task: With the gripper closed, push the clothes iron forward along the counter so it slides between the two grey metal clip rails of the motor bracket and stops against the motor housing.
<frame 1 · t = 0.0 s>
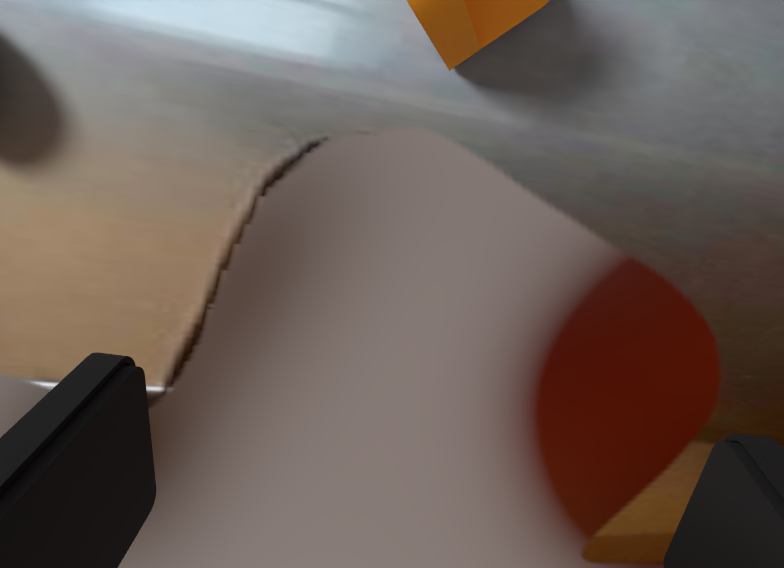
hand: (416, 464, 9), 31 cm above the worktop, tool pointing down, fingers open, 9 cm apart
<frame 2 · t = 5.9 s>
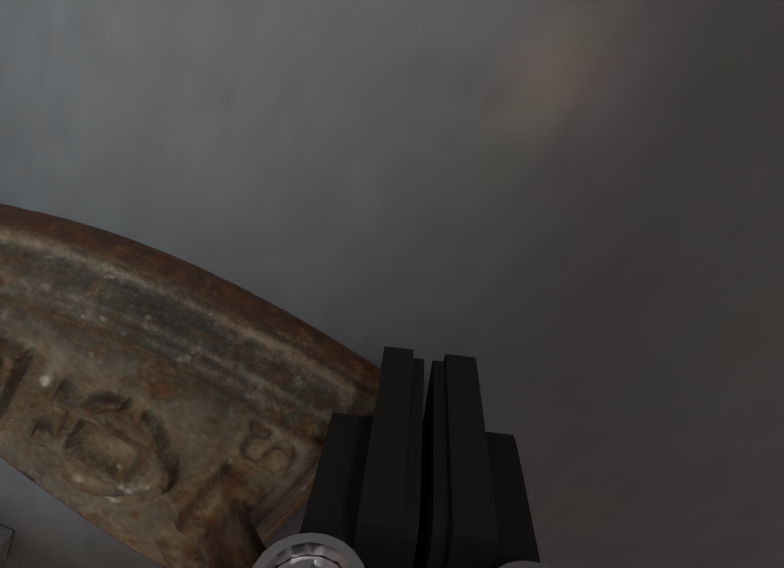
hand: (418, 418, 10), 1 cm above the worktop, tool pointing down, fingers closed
clothes iron: (113, 348, 12), on the worktop, touching gripper
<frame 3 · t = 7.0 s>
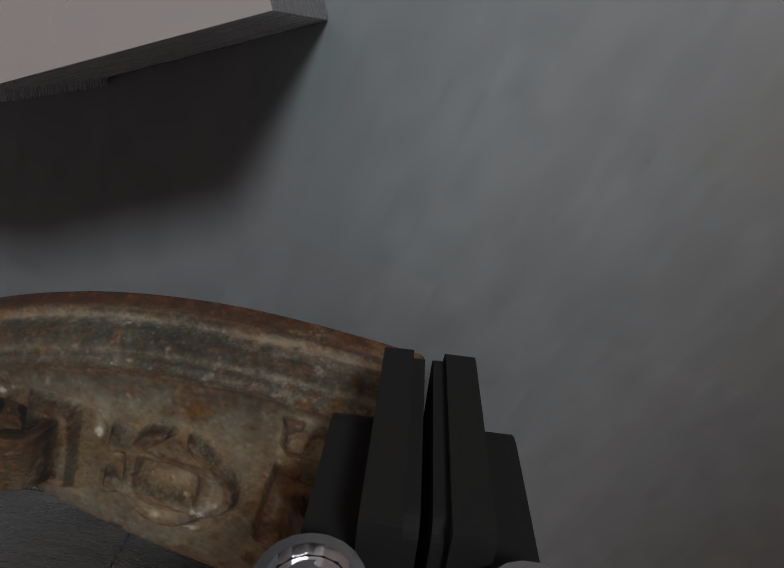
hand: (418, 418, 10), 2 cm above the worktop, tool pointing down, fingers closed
clothes iron: (160, 392, 13), on the worktop, touching gripper
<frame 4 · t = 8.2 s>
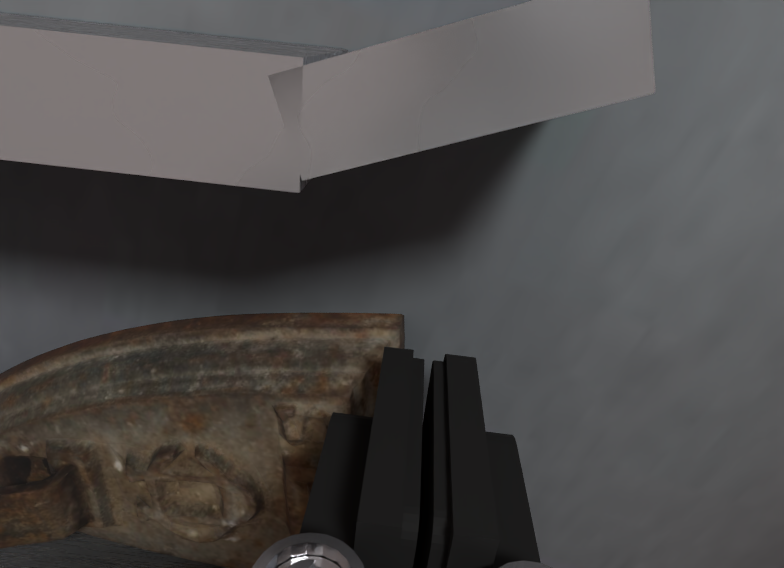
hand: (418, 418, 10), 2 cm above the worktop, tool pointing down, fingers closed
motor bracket: (99, 350, 12), on the worktop
clothes iron: (180, 420, 13), on the worktop, touching gripper, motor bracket
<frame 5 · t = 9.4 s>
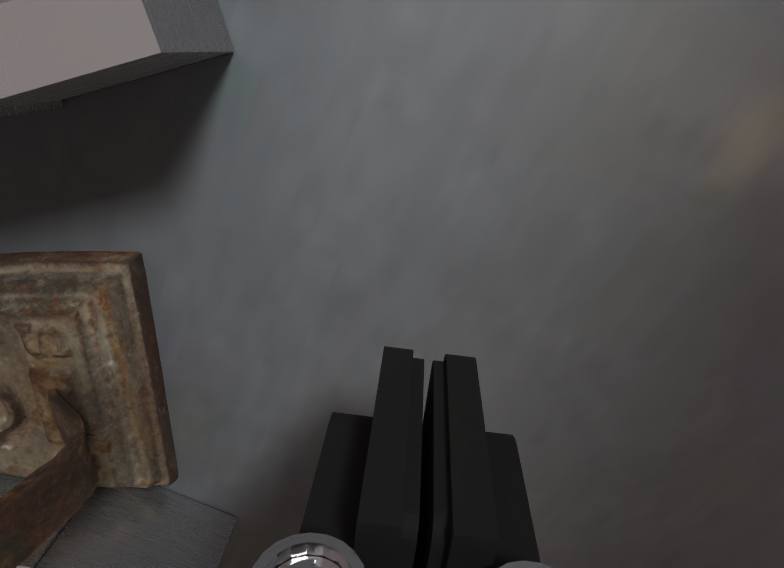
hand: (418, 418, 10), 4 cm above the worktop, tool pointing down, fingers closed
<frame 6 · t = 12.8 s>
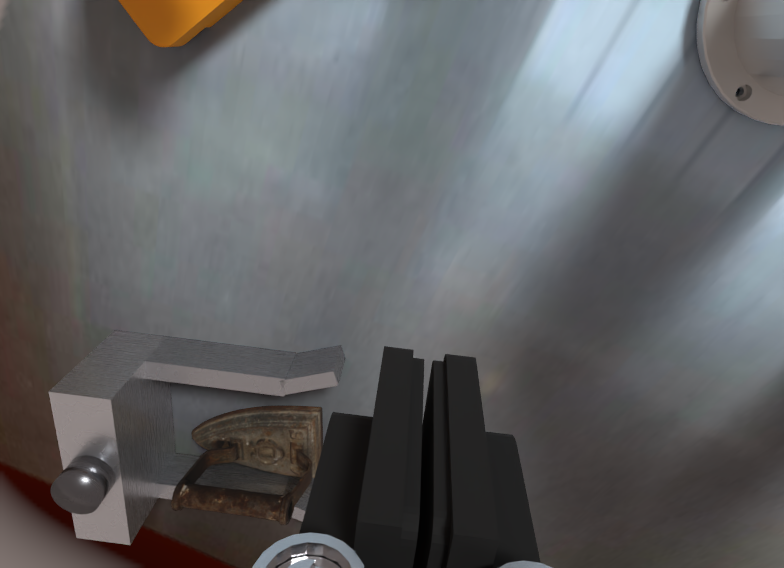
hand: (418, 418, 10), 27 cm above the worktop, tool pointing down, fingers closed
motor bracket: (232, 413, 45), on the worktop
clothes iron: (259, 431, 46), on the worktop, touching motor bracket
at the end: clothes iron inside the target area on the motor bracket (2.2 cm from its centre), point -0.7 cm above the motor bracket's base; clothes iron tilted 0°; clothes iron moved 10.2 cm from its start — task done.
